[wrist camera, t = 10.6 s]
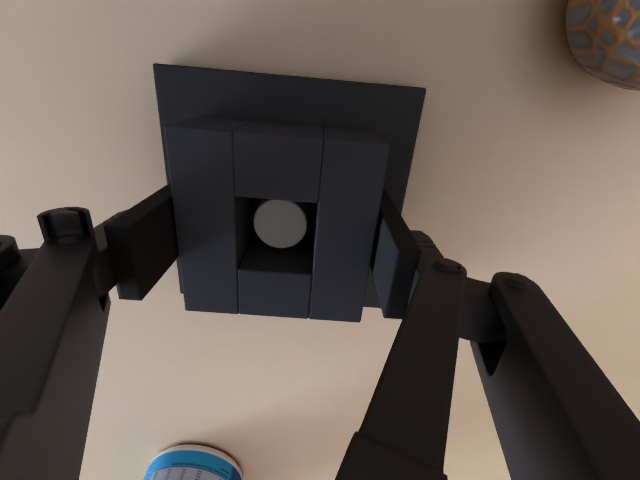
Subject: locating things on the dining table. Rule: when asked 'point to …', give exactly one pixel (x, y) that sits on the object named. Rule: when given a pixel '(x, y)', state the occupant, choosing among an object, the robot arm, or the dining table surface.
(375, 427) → the robot arm
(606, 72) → the vase
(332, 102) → the base pad
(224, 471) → the beverage bottle
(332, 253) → the dark grey square frame
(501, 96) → the dining table surface
